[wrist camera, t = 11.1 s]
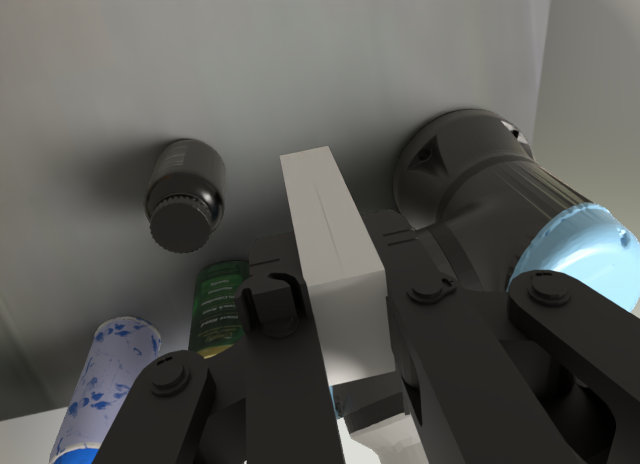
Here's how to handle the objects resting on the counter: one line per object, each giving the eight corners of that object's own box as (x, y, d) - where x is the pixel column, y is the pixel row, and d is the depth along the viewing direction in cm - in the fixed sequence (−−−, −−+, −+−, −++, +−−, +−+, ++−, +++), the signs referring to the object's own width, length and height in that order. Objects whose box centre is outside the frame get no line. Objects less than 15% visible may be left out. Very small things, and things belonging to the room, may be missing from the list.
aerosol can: (120, 372, 60) (73, 538, 43) (79, 333, 56) (8, 499, 39) (174, 348, 59) (147, 507, 42) (136, 306, 55) (89, 463, 38)
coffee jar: (188, 264, 53) (165, 395, 37) (256, 251, 54) (263, 375, 38) (209, 327, 58) (198, 466, 43) (272, 315, 59) (284, 447, 43)
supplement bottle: (156, 196, 49) (134, 261, 38) (157, 133, 45) (133, 185, 35) (223, 203, 50) (219, 266, 40) (229, 142, 47) (226, 194, 37)
